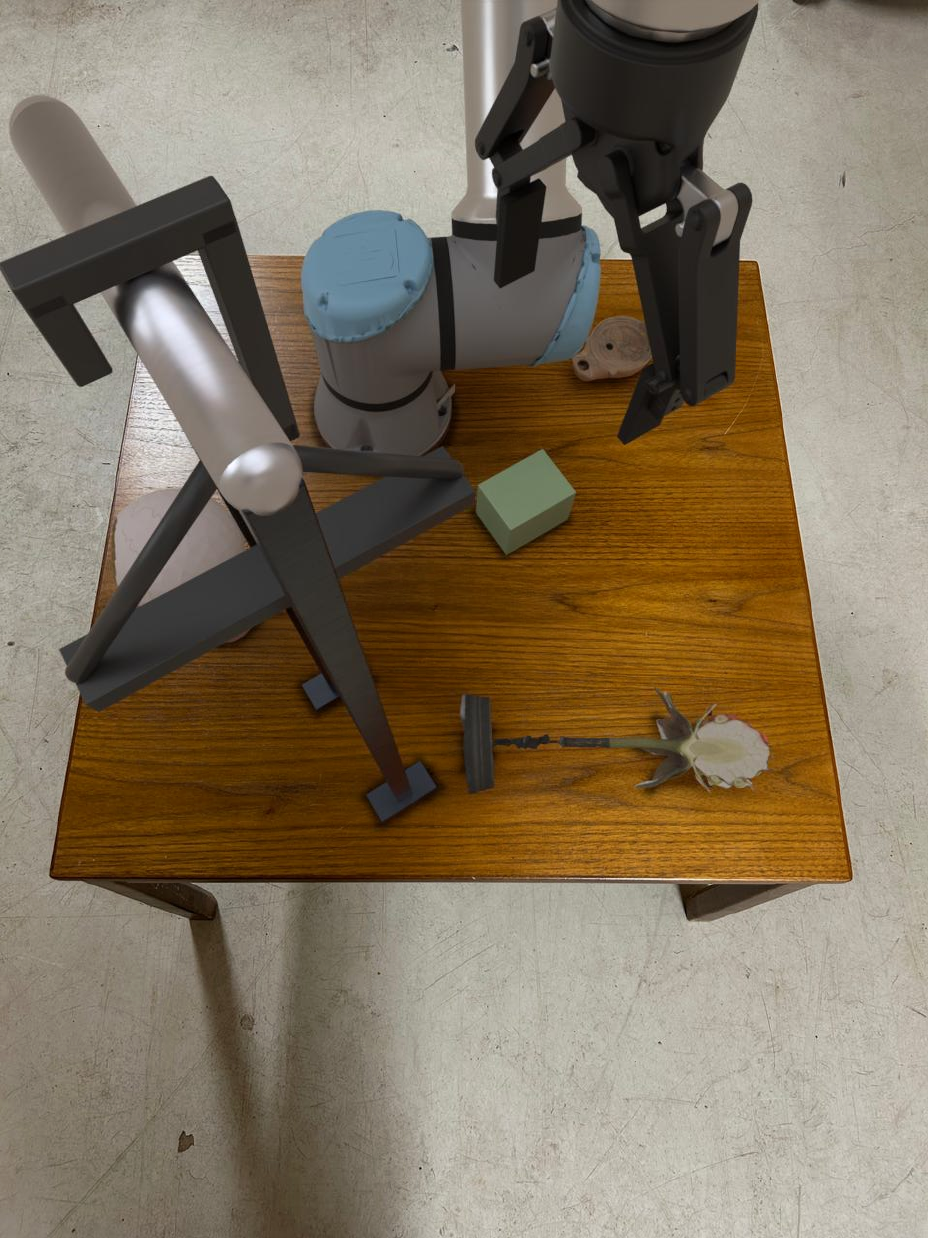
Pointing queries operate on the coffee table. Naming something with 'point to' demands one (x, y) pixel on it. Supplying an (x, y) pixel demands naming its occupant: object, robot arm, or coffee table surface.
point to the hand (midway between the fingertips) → (573, 350)
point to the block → (524, 501)
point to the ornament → (636, 746)
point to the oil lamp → (613, 350)
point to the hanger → (243, 585)
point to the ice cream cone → (195, 554)
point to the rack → (223, 434)
